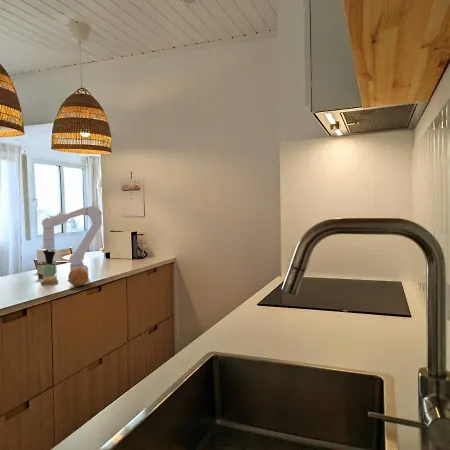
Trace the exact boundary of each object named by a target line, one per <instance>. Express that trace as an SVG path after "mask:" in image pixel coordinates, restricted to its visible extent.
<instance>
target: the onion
mask: <svg viewBox="0 0 450 450" xmlns="http://www.w3.org/2000/svg"><path fill="white" fill-rule="evenodd" d="M88 276H89V273H88V274H87V272H86V271H85V270H84V269H83V268H80V267H77V268H74V269H72V270H71V271H70V272H69V273H68V279H67V280H69V281H68V283H69V284H70V285H72V286H73V287H80V286H84V285H86V283H87V281H88Z"/></svg>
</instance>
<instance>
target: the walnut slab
mask: <svg viewBox="0 0 450 450" xmlns="http://www.w3.org/2000/svg"><path fill="white" fill-rule="evenodd" d="M58 284H59V281H58V279H57V280H56V281H44V282H43V279H40V285H41V286H50V285H52V286H53V285H58Z"/></svg>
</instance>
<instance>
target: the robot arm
mask: <svg viewBox="0 0 450 450" xmlns="http://www.w3.org/2000/svg"><path fill="white" fill-rule="evenodd" d="M80 216H87V217H89V218H90V221H91V223H92V224H91V226H90V227H89V229H88V231H87V232H86V234H85V236H84V238H83V239H82V241H81V243H80V244H79V246H78V247H77V249H76V250H75V251H74V253H73V254H71V255H70V256H69V259H68V260H69V263H70V265H69V267H70V271H71V270H72V269H74V268H77V267H80V268H83V269H84V270H85V271H86V272H87V274H88V280H90V277H89V267H88V266H87V265H85V264H84V262H83V261H84V259H85V254H86V253H87V250H88V248H89V246H91V243H92V242H93V240H94V238H95V236H96V235H97V233H98V232H99V230H100V229H101V227H102V226H103V222H102V221H103V220H102V219H103V218H102V211H101V209H100V208H99V207H98V206H97V205H91V206H85V207H82V208H79V209H76V210H74V211H71V212H69V213H65V212H58V213H57V214H55V215H51V216H49V217H45V218H44V219H43V220H42V221H41V225H42V228H43V229H42V230H43V231H42V240H43V244H42V245H43V246H41V247H40V249H46V250H44V251H43V252H44V254H45V258H46V262H47V263H48V264H52V262H53V257H54V254H55V252H53V251H54V250H52V249H56V246H55V227H57V226H59V225H63V224H65V223H68V221H69V220H71V219H73V218H76V217H80ZM88 280H87V281H88ZM66 281H67V282H69V279H67V280H66Z"/></svg>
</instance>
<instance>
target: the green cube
mask: <svg viewBox="0 0 450 450" xmlns="http://www.w3.org/2000/svg"><path fill="white" fill-rule="evenodd" d="M43 276H44V277H46V276H54V266H43Z"/></svg>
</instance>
